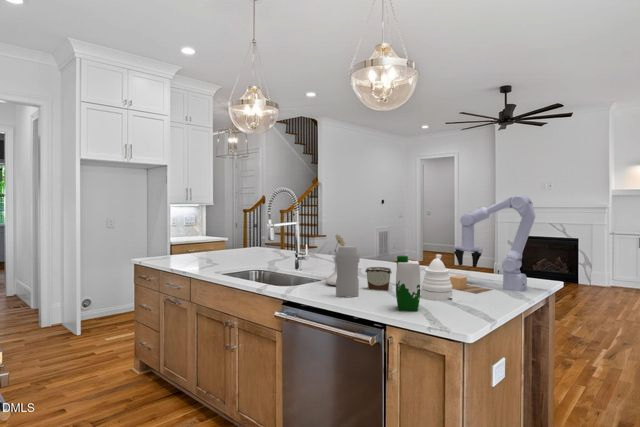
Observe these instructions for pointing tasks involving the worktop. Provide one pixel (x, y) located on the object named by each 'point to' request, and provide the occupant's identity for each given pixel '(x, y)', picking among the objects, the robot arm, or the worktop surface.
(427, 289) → the honey pot
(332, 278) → the flower in vase
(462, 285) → the tan shipping carton
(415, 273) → the milk carton
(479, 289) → the board
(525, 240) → the robot arm
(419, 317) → the worktop surface
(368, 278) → the food container
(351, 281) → the tall pale column
